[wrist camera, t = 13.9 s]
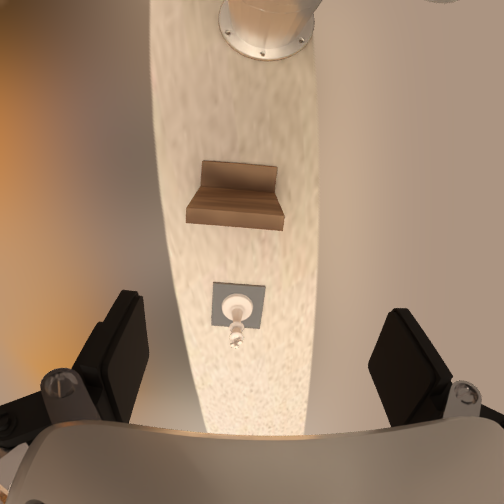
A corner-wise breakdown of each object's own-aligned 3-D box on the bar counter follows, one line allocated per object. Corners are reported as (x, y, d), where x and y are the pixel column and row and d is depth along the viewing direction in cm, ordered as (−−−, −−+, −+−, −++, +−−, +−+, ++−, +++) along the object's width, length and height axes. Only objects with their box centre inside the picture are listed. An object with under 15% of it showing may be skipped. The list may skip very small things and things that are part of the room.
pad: (213, 281, 48) (213, 283, 48) (265, 285, 49) (265, 287, 48) (211, 323, 51) (211, 325, 51) (259, 327, 52) (259, 328, 52)
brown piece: (203, 160, 41) (187, 174, 30) (276, 167, 42) (289, 183, 31) (200, 196, 43) (185, 222, 32) (272, 202, 44) (282, 230, 33)
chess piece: (258, 312, 50) (261, 353, 41) (231, 323, 51) (229, 364, 42) (244, 288, 48) (244, 327, 39) (216, 300, 49) (210, 340, 40)
